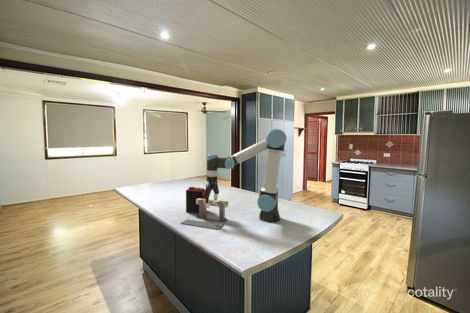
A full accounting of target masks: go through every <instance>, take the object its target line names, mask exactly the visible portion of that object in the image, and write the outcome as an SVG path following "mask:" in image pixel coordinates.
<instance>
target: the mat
mask: <svg viewBox="0 0 470 313" xmlns="http://www.w3.org/2000/svg"><path fill="white" fill-rule="evenodd" d="M180 224H181V225H186V226H191V227H199V228H204V229H210V230H211V229H212V230H216V231H217V230H218V231H219V230H220V229H222V228H223V227H224V224H222V223H215V222H207V221H203V220H202V221H201V220H193V219H185V220H184V221H181V222H180Z"/></svg>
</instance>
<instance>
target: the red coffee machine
mask: <svg viewBox="0 0 470 313" xmlns="http://www.w3.org/2000/svg"><path fill="white" fill-rule="evenodd" d="M205 189H206V188H205V187H204V188H203V187H198V186H197V187H195V186H189V187H188V189H186V190H185V212H186V213H191V214H199V205H198V204H196V199H198V198H201V199H205V198H204V194H205ZM206 211H207V208H205V212H206Z"/></svg>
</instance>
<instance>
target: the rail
mask: <svg viewBox="0 0 470 313" xmlns="http://www.w3.org/2000/svg"><path fill="white" fill-rule="evenodd" d="M198 201H202V205H205V199H201V198H198V199H196V204H198ZM218 203H223V207H225V209H226V208H228V207H229V201H227V200H219V199H218V200H214V199H210V198H209V207H218ZM218 208H219V207H218Z"/></svg>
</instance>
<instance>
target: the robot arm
mask: <svg viewBox="0 0 470 313" xmlns="http://www.w3.org/2000/svg"><path fill="white" fill-rule="evenodd" d="M286 142H287V135H286V133H285V132H284V131H283V130H281V129H279V128H273V129H272V130H269V132H268V133H267V134H266V137H265V138H263V140H260V141H258V142H257V143H254V144H252V145H250V146H249V147H247V148H246V147H245V148H244V149H243V150H240V151H238V152H236V153H234V154H233V155H230V156H226V157H219V156H218V154H215V153H213V154H212V153H211V154H207V156H206V182H208V183H206V184H205V188H204V189H205V194H204V198H205V208H206V209H209V208H210V206H209V199H210V195H211V193H212V191H213V200H219V199H218V196H219V194H220V189H219V186H218V169H225V170H232V169H234V167H235V166H236V165H238V164H240V163H243V162H245V161H247V160H249V159H250V158H253V157H255V156H257V155H259V154H261V153H263V152H265V151H267V156H266V163H265V170H264V176H263V177H264V178H263V184H262V187H260V189H259V196H258V198H257V202H256V203H257V207H258V208H259V209H260V211H259V214H258V217H259V218H258V219H259V220H260V221H263V222H267V223H276V222H279V221H280V220H281V214H280V212H279V189H278V188H277V182H278V175H279V169H280V163H281V156H282V153H283V152H284V151H285V145H286Z"/></svg>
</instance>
